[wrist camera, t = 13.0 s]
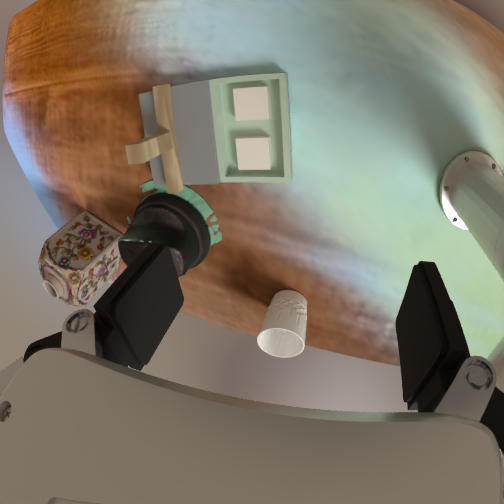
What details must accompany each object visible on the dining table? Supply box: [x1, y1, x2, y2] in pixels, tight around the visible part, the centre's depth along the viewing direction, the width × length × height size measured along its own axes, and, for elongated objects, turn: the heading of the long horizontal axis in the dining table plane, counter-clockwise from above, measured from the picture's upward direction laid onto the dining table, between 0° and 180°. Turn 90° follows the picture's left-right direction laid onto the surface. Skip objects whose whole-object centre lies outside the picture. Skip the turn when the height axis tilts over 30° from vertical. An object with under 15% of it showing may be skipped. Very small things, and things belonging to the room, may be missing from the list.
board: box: [139, 80, 221, 186], centre depth 37 cm, size 11×15×3 cm
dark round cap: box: [118, 181, 222, 277], centre depth 46 cm, size 20×20×9 cm
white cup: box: [257, 290, 307, 358], centre depth 48 cm, size 8×8×10 cm
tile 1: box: [233, 86, 271, 121], centre depth 33 cm, size 4×4×2 cm
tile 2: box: [235, 136, 272, 170], centre depth 37 cm, size 4×4×2 cm
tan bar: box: [125, 84, 184, 194], centre depth 33 cm, size 2×16×9 cm, turn 3°
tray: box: [209, 73, 292, 183], centre depth 35 cm, size 10×15×2 cm, turn 4°
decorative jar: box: [38, 211, 123, 306], centre depth 49 cm, size 12×12×18 cm
